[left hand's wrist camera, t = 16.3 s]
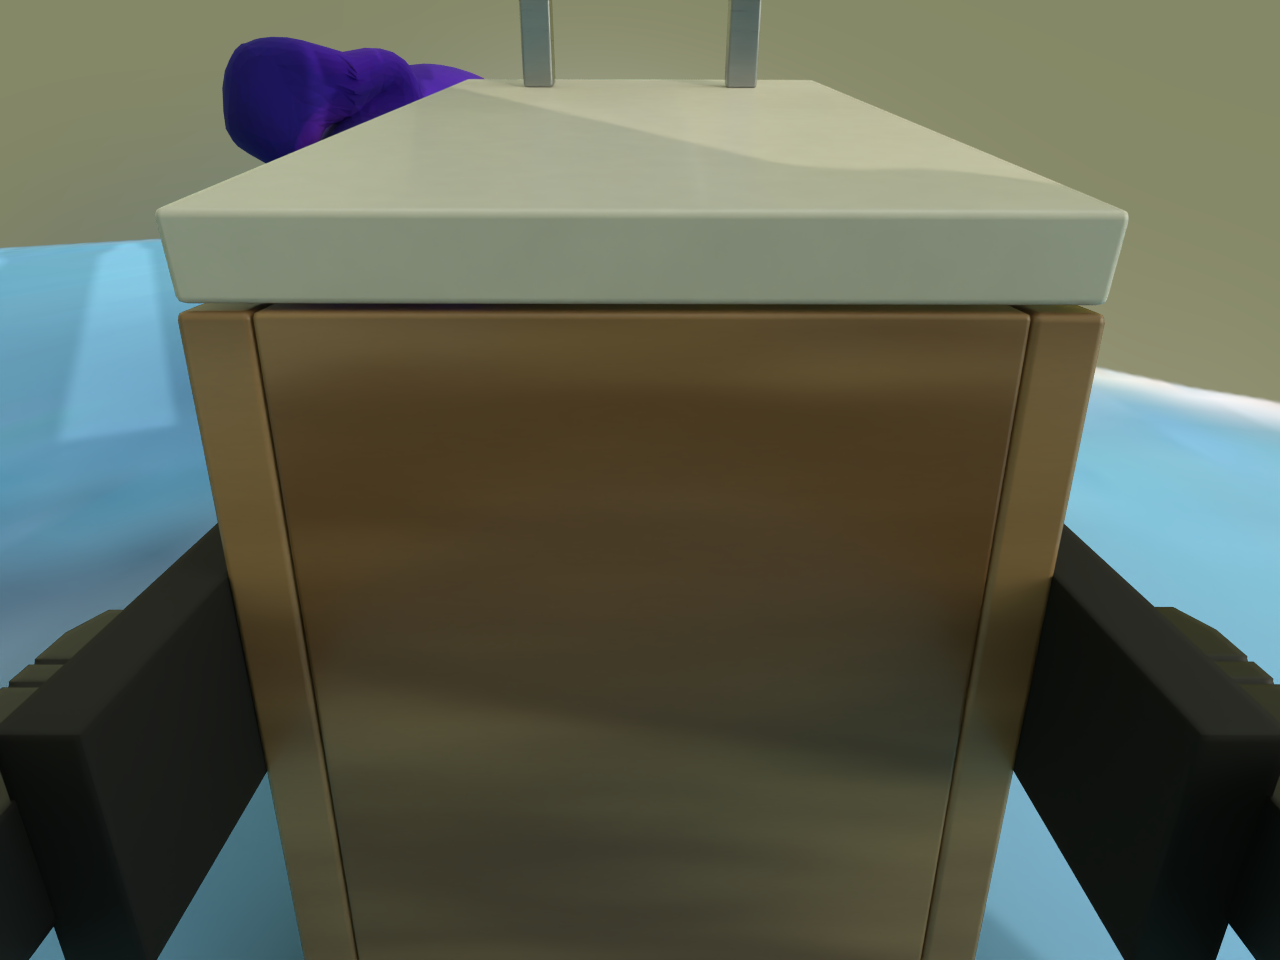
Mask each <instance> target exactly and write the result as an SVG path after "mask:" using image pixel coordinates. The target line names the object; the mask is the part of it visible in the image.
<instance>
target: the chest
mask: <svg viewBox="0 0 1280 960" xmlns="http://www.w3.org/2000/svg"><path fill="white" fill-rule="evenodd" d="M178 323H179V328H180V333H181V338H182V343H183V348H184V353H185V358H186V363H187V368H188V373H189V378H190V383H191V389H192V394H193V399H194V404H195V409H196V414H197V419H198V424H199V429H200V434H201V439H202V444H203V449H204V454H205V459H206V464H207V469H208V474H209V480H210V485H211V490H212V495H213V500H214V505H215V510H216V515H217V520H218V525H219V530H220V535H221V540H222V545H223V550H224V555H225V560H226V565H227V571H228V576H229V581H230V586H231V591H232V596H233V601H234V606H235V611H236V616H237V621H238V626H239V631H240V636H241V641H242V646H243V651H244V656H245V662H246V667H247V672H248V677H249V682H250V687H251V692H252V697H253V702H254V707H255V712H256V717H257V722H258V727H259V732H260V737H261V742H262V748H263V753H264V758H265V763H266V768H267V773H268V778H269V783H270V788H271V793H272V798H273V803H274V808H275V813H276V818H277V823H278V828H279V833H280V839H281V844H282V849H283V854H284V859H285V864H286V869H287V874H288V879H289V884H290V889H291V894H292V899H293V904H294V909H295V914H296V919H297V924H298V930H299V935H300V940H301V945H302V950H303V955H304V960H975V955H976V950H977V945H978V940H979V935H980V931H981V926H982V921H983V916H984V911H985V906H986V901H987V896H988V891H989V887H990V882H991V877H992V872H993V867H994V862H995V857H996V852H997V847H998V843H999V838H1000V833H1001V828H1002V823H1003V818H1004V813H1005V808H1006V803H1007V798H1008V794H1009V789H1010V784H1011V779H1012V774H1013V769H1014V764H1015V759H1016V754H1017V750H1018V745H1019V740H1020V735H1021V730H1022V725H1023V720H1024V715H1025V710H1026V706H1027V701H1028V696H1029V691H1030V686H1031V681H1032V676H1033V671H1034V666H1035V661H1036V656H1037V652H1038V647H1039V642H1040V637H1041V632H1042V627H1043V622H1044V617H1045V612H1046V607H1047V602H1048V597H1049V592H1050V587H1051V582H1052V577H1053V573H1054V569H1055V564H1056V559H1057V554H1058V549H1059V544H1060V539H1061V534H1062V529H1063V525H1064V520H1065V515H1066V510H1067V505H1068V500H1069V495H1070V490H1071V485H1072V480H1073V476H1074V471H1075V466H1076V461H1077V456H1078V451H1079V446H1080V441H1081V436H1082V432H1083V427H1084V422H1085V417H1086V412H1087V407H1088V402H1089V397H1090V392H1091V388H1092V383H1093V378H1094V373H1095V368H1096V363H1097V358H1098V353H1099V348H1100V344H1101V339H1102V334H1103V329H1104V324H1105V323H1104V317H1103V316H1102V315H1101V314H1098V313H1096V312H1093V311H1091V310H1088V309H1086V308H1083V307H1080V306H1078V305H795V304H353V303H204V304H202V305H199V306H197V307H194V308H191V309H189V310H186V311H184V312H182V313H180V314H179V317H178Z"/></svg>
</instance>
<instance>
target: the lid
mask: <svg viewBox="0 0 1280 960" xmlns="http://www.w3.org/2000/svg"><path fill="white" fill-rule="evenodd" d="M761 5H762V0H729V2H728V23H727V45H726V67H725V80H581V79H578V80H577V79H555V61H554V36H553V12H552V0H519V9H520V28H521V45H522V62H523V79H468V80H465V81H463V82H460V83H458V84H456V85H453V86H451V87H448V88H446V89H444V90H441V91H439V92H436V93H434V94H432V95H429V96H427V97H424V98H422V99H420V100H417V101H415V102H412V103H410V104H408V105H405V106H403V107H400V108H398V109H396V110H393V111H391V112H388V113H386V114H384V115H381V116H379V117H376V118H374V119H372V120H369V121H367V122H364V123H362V124H360V125H357V126H355V127H352V128H350V129H348V130H345V131H343V132H341V133H338V134H336V135H333V136H331V137H329V138H326V139H324V140H321V141H319V142H317V143H314V144H312V145H309V146H307V147H305V148H302V149H300V150H297V151H295V152H293V153H290V154H288V155H285V156H283V157H281V158H278V159H276V160H273V161H271V162H269V163H266V164H264V165H261V166H259V167H257V168H254V169H252V170H249V171H247V172H245V173H242V174H240V175H237V176H235V177H233V178H230V179H228V180H226V181H223V182H221V183H218V184H216V185H214V186H211V187H209V188H206V189H204V190H202V191H199V192H197V193H194V194H192V195H190V196H187V197H185V198H182V199H180V200H178V201H175V202H173V203H170V204H168V205H166V206H163V207H161V208H159V209H157V210H156V216H155V218H156V222H157V226H158V230H159V233H160V237H161V241H162V245H163V249H164V252H165V256H166V260H167V264H168V268H169V271H170V275H171V279H172V283H173V287H174V290H175V294H176V297H177V298H178V300H179V301H181V302H184V303H353V304H795V305H1099V304H1103V303H1105V301H1106V300H1107V298H1108V294H1109V290H1110V287H1111V283H1112V279H1113V276H1114V272H1115V268H1116V265H1117V261H1118V257H1119V254H1120V250H1121V246H1122V243H1123V239H1124V235H1125V231H1126V228H1127V224H1128V213H1127V212H1126V211H1124V210H1122V209H1120V208H1117V207H1115V206H1112V205H1110V204H1108V203H1105V202H1103V201H1100V200H1098V199H1096V198H1093V197H1091V196H1088V195H1086V194H1084V193H1081V192H1079V191H1076V190H1074V189H1071V188H1069V187H1067V186H1064V185H1062V184H1060V183H1057V182H1055V181H1052V180H1050V179H1048V178H1045V177H1043V176H1040V175H1038V174H1036V173H1033V172H1031V171H1028V170H1026V169H1024V168H1021V167H1019V166H1016V165H1014V164H1012V163H1009V162H1007V161H1004V160H1002V159H1000V158H997V157H995V156H992V155H990V154H987V153H985V152H983V151H980V150H978V149H976V148H973V147H971V146H968V145H966V144H963V143H961V142H959V141H956V140H954V139H952V138H949V137H947V136H944V135H942V134H940V133H937V132H935V131H932V130H930V129H927V128H925V127H923V126H920V125H918V124H915V123H913V122H911V121H908V120H906V119H903V118H901V117H899V116H896V115H894V114H891V113H889V112H887V111H884V110H882V109H879V108H877V107H875V106H872V105H870V104H867V103H865V102H863V101H860V100H858V99H855V98H853V97H851V96H848V95H846V94H843V93H841V92H839V91H836V90H834V89H831V88H829V87H827V86H824V85H822V84H819V83H817V82H814V81H812V80H757V69H758V53H759V37H760V21H761Z"/></svg>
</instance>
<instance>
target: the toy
mask: <svg viewBox="0 0 1280 960" xmlns="http://www.w3.org/2000/svg"><path fill="white" fill-rule="evenodd" d="M468 79H484V78H482V77H480V76H477V75H475V74H473V73H470V72H467V71H464V70H461V69H457V68H454V67H449V66H444V65H436V64H416V65H408V64H407V62H406V61H405V60H404V59H402V58H401V57H399V56H398V55H396V54H395V53H393V52H390V51H387V50H383V49H377V48H362V49H357V50H351V51H345V52H341V51H337V50H334V49H331V48H327V47H324V46H320V45H317V44H313V43H310V42H306V41H303V40H298V39H292V38H287V37H267V38H259V39H255V40H252V41H250V42H248V43H244V44H241V45H240V46H239V47H238V48H237V49H235V51H234V53H233V54H232V56H231V58H230V60H229V62H228V65H227V67H226V70H225V74H224V81H223V88H222V89H223V111H224V119H225V126H226V130H227V131H228V133H229V135H230V137H231V138H232V140H233V141H234V142H235V144H236V145H237V146H238V147H240V148H241V149H243V150H244V151H246V152H247V153H249V154H250V155H252V156H254V157H256V158H257V159H259V160H261V161H263V162H264V163H269V162H271V161H273V160H276V159H278V158H281V157H283V156H285V155H288V154H290V153H293V152H295V151H297V150H300V149H302V148H305V147H307V146H309V145H312V144H314V143H317V142H319V141H321V140H324V139H326V138H329V137H331V136H333V135H336V134H338V133H341V132H343V131H345V130H348V129H350V128H352V127H355V126H357V125H360V124H362V123H364V122H367V121H369V120H372V119H374V118H376V117H379V116H381V115H384V114H386V113H388V112H391V111H393V110H396V109H398V108H400V107H403V106H405V105H408V104H410V103H412V102H415V101H417V100H420V99H422V98H424V97H427V96H429V95H432V94H434V93H436V92H439V91H441V90H444V89H446V88H448V87H451V86H453V85H456V84H458V83H460V82H463V81H465V80H468Z"/></svg>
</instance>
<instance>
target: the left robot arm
mask: <svg viewBox="0 0 1280 960" xmlns="http://www.w3.org/2000/svg"><path fill="white" fill-rule="evenodd" d="M1013 771H1014V772H1015V774H1016V776H1017V778H1018V779H1019V781H1020V783H1021V784H1022V786H1023V788H1024V789H1025V791H1026V793H1027V795H1028V796H1029V798H1030V800H1031V801H1032V803H1033V805H1034V807H1035V808H1036V810H1037V812H1038V813H1039V815H1040V817H1041V819H1042V820H1043V822H1044V824H1045V825H1046V827H1047V829H1048V830H1049V832H1050V834H1051V836H1052V837H1053V839H1054V841H1055V842H1056V844H1057V846H1058V848H1059V849H1060V851H1061V853H1062V854H1063V856H1064V858H1065V859H1066V861H1067V863H1068V865H1069V866H1070V868H1071V870H1072V871H1073V873H1074V875H1075V877H1076V878H1077V880H1078V882H1079V883H1080V885H1081V887H1082V889H1083V890H1084V892H1085V894H1086V895H1087V897H1088V899H1089V900H1090V902H1091V904H1092V906H1093V907H1094V909H1095V911H1096V912H1097V914H1098V916H1099V918H1100V919H1101V921H1102V923H1103V924H1104V926H1105V928H1106V929H1107V931H1108V933H1109V935H1110V936H1111V938H1112V940H1113V941H1114V943H1115V945H1116V947H1117V948H1118V950H1119V952H1120V953H1121V955H1122V957H1123V959H1124V960H1216V958H1217V955H1218V952H1219V949H1220V946H1221V943H1222V940H1223V938H1224V935H1225V932H1226V929H1227V926H1228V923H1229V924H1230V926H1231V927H1232V928H1233V930H1234V931H1235V932H1236V934H1237V935H1238V936H1239V938H1240V939H1241V940H1242V942H1243V943H1244V945H1245V946H1246V947H1247V949H1248V950H1249V951H1250V953H1251V954H1252V955H1253V957H1254V958H1255V959H1256V960H1280V684H1274V683H1273V678H1272V677H1271V676H1270V675H1268V674H1267V673H1266V672H1265V671H1264V670H1263V669H1261V668H1260V667H1259V666H1258V665H1257V664H1256V663H1254V662H1248V660H1247V656H1246V655H1245V654H1244V653H1243V652H1242V651H1240V650H1239V649H1238V648H1237V647H1236V646H1235V645H1233V644H1232V643H1231V642H1230V641H1229V640H1228V639H1227V638H1225V637H1224V636H1223V635H1222V634H1221V633H1220V632H1218V631H1217V630H1216V629H1214V628H1212V627H1210V626H1208V625H1206V624H1204V623H1203V622H1201V621H1199V620H1197V619H1195V618H1193V617H1191V616H1189V615H1187V614H1185V613H1183V612H1181V611H1180V610H1178V609H1176V608H1174V607H1154V606H1153V605H1152V604H1151V603H1150V602H1148V601H1147V600H1146V599H1145V598H1144V597H1143V596H1142V595H1141V594H1140V593H1139V592H1138V591H1137V590H1135V589H1134V588H1133V587H1132V586H1131V585H1130V584H1129V583H1128V582H1127V581H1126V580H1125V579H1123V578H1122V577H1121V576H1120V575H1119V574H1118V573H1117V572H1116V571H1115V570H1114V569H1113V568H1112V567H1110V566H1109V565H1108V564H1107V563H1106V562H1105V561H1104V560H1103V559H1102V558H1101V557H1100V556H1098V555H1097V554H1096V553H1095V552H1094V551H1093V550H1092V549H1091V548H1090V547H1089V546H1088V545H1086V544H1085V543H1084V542H1083V541H1082V540H1081V539H1080V538H1079V537H1078V536H1077V535H1076V534H1075V533H1073V532H1072V531H1071V530H1070V529H1069V528H1068V527H1067V526H1066V525H1065V524H1064V525H1063V529H1062V534H1061V539H1060V544H1059V549H1058V554H1057V559H1056V564H1055V569H1054V573H1053V577H1052V582H1051V587H1050V592H1049V597H1048V602H1047V607H1046V612H1045V617H1044V622H1043V627H1042V632H1041V637H1040V642H1039V647H1038V652H1037V656H1036V661H1035V666H1034V671H1033V676H1032V681H1031V686H1030V691H1029V696H1028V701H1027V706H1026V710H1025V715H1024V720H1023V725H1022V730H1021V735H1020V740H1019V745H1018V750H1017V754H1016V759H1015V764H1014V769H1013ZM266 772H267V768H266V763H265V758H264V753H263V748H262V742H261V737H260V732H259V727H258V722H257V717H256V712H255V707H254V702H253V697H252V692H251V687H250V682H249V677H248V672H247V667H246V662H245V656H244V651H243V646H242V641H241V636H240V631H239V626H238V621H237V616H236V611H235V606H234V601H233V596H232V591H231V586H230V581H229V576H228V571H227V565H226V560H225V555H224V550H223V545H222V540H221V535H220V530H219V525H218V523H217V524H216V525H215V526H214V527H213V528H212V529H211V530H210V531H209V532H207V533H206V534H205V535H204V536H203V537H202V538H201V539H200V540H199V541H198V542H197V543H196V544H194V545H193V546H192V547H191V548H190V549H189V550H188V551H187V552H186V553H185V554H184V555H182V556H181V557H180V558H179V559H178V560H177V561H176V562H175V563H174V564H173V565H172V566H171V567H169V568H168V569H167V570H166V571H165V572H164V573H163V574H162V575H161V576H160V577H159V578H157V579H156V580H155V581H154V582H153V583H152V584H151V585H150V586H149V587H148V588H147V589H146V590H144V591H143V592H142V593H141V594H140V595H139V596H138V597H137V598H136V599H135V600H134V601H132V602H131V603H130V604H129V605H128V606H127V607H126V608H125V609H124V610H108V611H106V612H104V613H102V614H100V615H98V616H96V617H94V618H93V619H91V620H89V621H87V622H85V623H83V624H81V625H79V626H77V627H75V628H74V629H72V630H70V631H68V632H66V633H65V634H64V635H62V636H61V637H60V638H59V639H58V640H57V641H55V642H54V643H53V644H52V645H51V646H50V647H49V648H47V649H46V650H45V651H44V652H43V653H42V654H40V655H39V656H38V657H37V658H36V659H35V664H34V665H28V666H27V667H25V668H24V669H23V670H22V671H21V672H20V673H19V674H17V675H16V676H15V677H14V678H13V679H12V680H11V681H9V687H8V688H1V689H0V960H29V959H30V958H31V956H32V955H33V953H34V952H35V951H36V949H37V948H38V947H39V945H40V944H41V943H42V941H43V940H44V939H45V937H46V936H47V935H48V933H49V932H50V931H51V929H52V928H53V926H54V928H55V931H56V934H57V937H58V940H59V943H60V946H61V948H62V951H63V954H64V957H65V960H157V958H158V957H159V955H160V953H161V952H162V950H163V948H164V946H165V945H166V943H167V941H168V940H169V938H170V936H171V934H172V933H173V931H174V929H175V928H176V926H177V924H178V923H179V921H180V919H181V917H182V916H183V914H184V912H185V911H186V909H187V907H188V905H189V904H190V902H191V900H192V899H193V897H194V895H195V893H196V892H197V890H198V888H199V887H200V885H201V883H202V882H203V880H204V878H205V876H206V875H207V873H208V871H209V870H210V868H211V866H212V864H213V863H214V861H215V859H216V858H217V856H218V854H219V852H220V851H221V849H222V847H223V846H224V844H225V842H226V841H227V839H228V837H229V835H230V834H231V832H232V830H233V829H234V827H235V825H236V823H237V822H238V820H239V818H240V817H241V815H242V813H243V811H244V810H245V808H246V806H247V805H248V803H249V801H250V800H251V798H252V796H253V794H254V793H255V791H256V789H257V788H258V786H259V784H260V782H261V781H262V779H263V777H264V776H265V774H266Z"/></svg>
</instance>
